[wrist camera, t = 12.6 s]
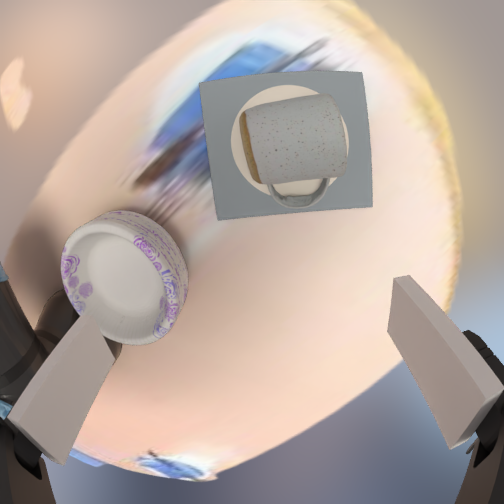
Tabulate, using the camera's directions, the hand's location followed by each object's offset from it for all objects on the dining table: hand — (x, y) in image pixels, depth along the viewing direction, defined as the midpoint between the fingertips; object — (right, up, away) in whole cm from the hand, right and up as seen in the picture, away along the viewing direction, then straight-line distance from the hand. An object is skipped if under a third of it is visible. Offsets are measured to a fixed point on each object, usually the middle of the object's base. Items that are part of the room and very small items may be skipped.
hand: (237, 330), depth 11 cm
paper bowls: (-14, +2, +23) cm, 27 cm away
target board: (+5, +15, +17) cm, 23 cm away
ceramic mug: (+5, +13, +16) cm, 21 cm away
